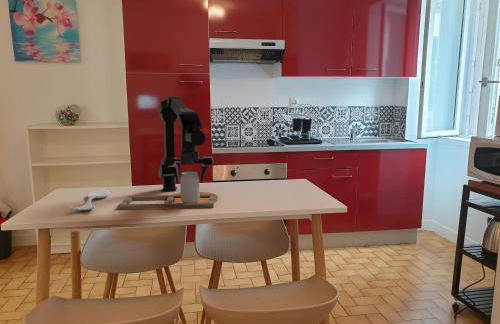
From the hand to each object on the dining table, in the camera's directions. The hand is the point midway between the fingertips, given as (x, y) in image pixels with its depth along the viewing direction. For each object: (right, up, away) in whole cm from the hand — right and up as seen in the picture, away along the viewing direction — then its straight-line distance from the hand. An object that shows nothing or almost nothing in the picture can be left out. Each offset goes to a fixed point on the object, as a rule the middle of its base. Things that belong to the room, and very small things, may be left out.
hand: (189, 182), depth 154 cm
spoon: (-39, -9, +2) cm, 40 cm away
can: (0, -8, +1) cm, 8 cm away
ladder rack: (-8, -8, +1) cm, 12 cm away
